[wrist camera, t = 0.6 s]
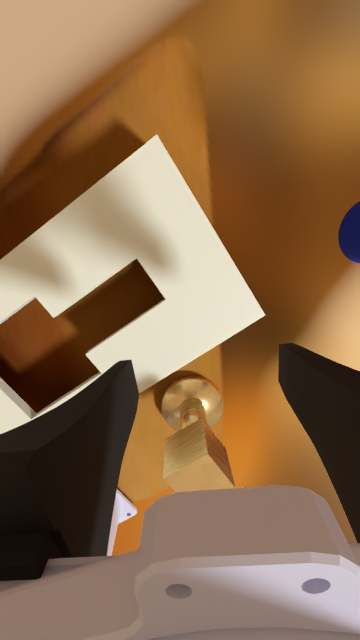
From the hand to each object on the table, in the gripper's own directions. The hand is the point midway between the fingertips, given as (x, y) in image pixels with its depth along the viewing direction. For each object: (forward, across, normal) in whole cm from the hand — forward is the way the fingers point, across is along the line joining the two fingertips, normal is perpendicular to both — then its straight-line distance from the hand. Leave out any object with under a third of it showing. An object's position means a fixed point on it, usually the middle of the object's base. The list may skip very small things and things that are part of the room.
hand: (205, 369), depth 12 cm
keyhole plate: (+10, +9, 0) cm, 14 cm away
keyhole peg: (+10, +2, +10) cm, 14 cm away
